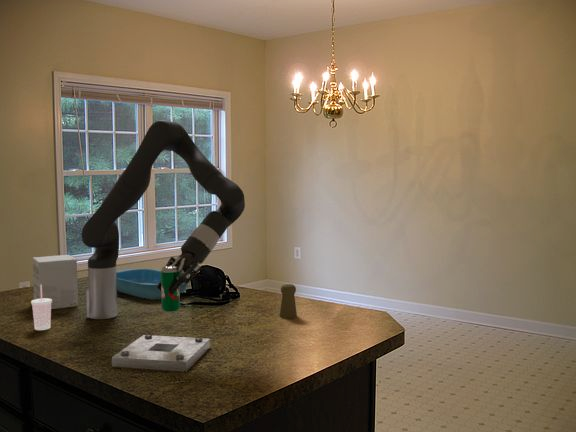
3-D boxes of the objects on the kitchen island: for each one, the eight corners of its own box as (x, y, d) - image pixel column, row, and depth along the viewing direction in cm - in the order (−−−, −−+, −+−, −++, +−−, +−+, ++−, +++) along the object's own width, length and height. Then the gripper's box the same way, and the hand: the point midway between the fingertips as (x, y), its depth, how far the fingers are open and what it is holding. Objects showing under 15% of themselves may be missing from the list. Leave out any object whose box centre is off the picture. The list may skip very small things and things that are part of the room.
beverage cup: (48, 324, 192) (46, 281, 191) (56, 328, 188) (54, 284, 186) (29, 328, 188) (27, 284, 187) (36, 332, 183) (35, 287, 182)
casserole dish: (199, 294, 237) (199, 276, 236) (154, 304, 220) (153, 285, 219) (144, 282, 261) (144, 266, 260) (99, 290, 244) (98, 273, 243)
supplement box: (70, 299, 228) (69, 254, 226) (78, 306, 216) (77, 258, 215) (33, 303, 220) (31, 257, 219) (40, 311, 209) (38, 262, 208)
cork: (299, 314, 205) (299, 283, 204) (293, 319, 200) (293, 286, 199) (282, 313, 207) (282, 282, 206) (276, 317, 202) (276, 285, 201)
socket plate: (112, 366, 153) (111, 354, 152) (143, 343, 172) (143, 332, 172) (186, 371, 149) (185, 359, 149) (210, 347, 169) (209, 336, 169)
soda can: (162, 308, 167) (161, 266, 166) (180, 307, 168) (179, 265, 167) (160, 312, 162) (159, 269, 161) (179, 311, 163) (178, 268, 162)
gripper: (179, 233, 173) (142, 279, 166) (206, 237, 162) (168, 287, 156) (195, 249, 177) (160, 294, 170) (222, 254, 166) (186, 303, 160)
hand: (164, 290), depth 163 cm, fingers closed on soda can, 5 cm apart
